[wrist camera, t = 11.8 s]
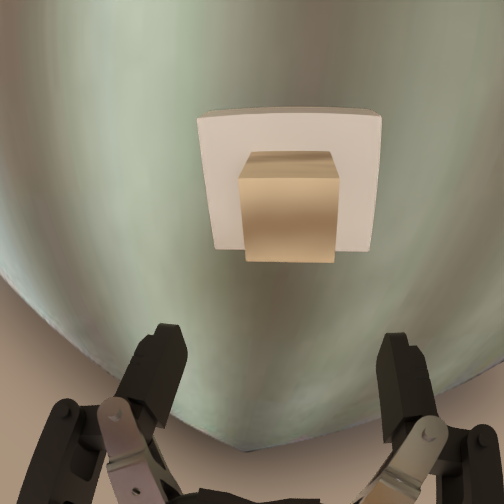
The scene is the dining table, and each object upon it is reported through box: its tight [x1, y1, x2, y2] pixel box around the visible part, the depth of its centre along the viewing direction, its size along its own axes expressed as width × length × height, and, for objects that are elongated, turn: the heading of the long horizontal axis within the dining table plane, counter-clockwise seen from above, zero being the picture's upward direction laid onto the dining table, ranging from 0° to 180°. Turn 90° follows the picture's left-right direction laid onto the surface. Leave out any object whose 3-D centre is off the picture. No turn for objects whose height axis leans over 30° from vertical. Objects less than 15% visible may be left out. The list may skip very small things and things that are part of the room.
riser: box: [197, 106, 382, 252], centre depth 26 cm, size 12×14×4 cm
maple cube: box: [238, 151, 340, 263], centre depth 22 cm, size 6×6×6 cm
